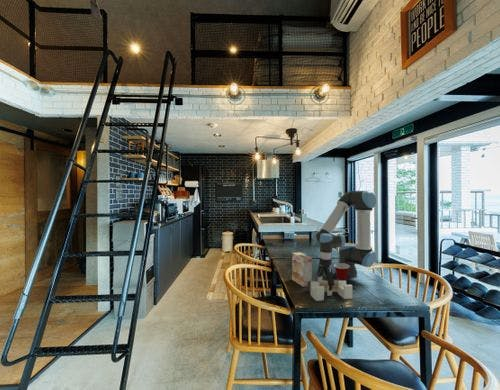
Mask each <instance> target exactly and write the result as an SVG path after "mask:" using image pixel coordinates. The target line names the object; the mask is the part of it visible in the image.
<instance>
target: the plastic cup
mask: <svg viewBox="0 0 500 390" xmlns="http://www.w3.org/2000/svg"><path fill="white" fill-rule="evenodd" d="M333 267H334V269H335V273H336V274H335V275H336V280H340V281H347V280H348V277H347V276H348V271H349V267H350V265H348V264H344V263H339V262H338V263H335V264H333Z"/></svg>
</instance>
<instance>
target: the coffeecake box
mask: <svg viewBox="0 0 500 390" xmlns="http://www.w3.org/2000/svg"><path fill="white" fill-rule="evenodd" d="M291 254H292V257H291V259H292V261H291V262H292V265H291V280H292V281H293V282H295V283H297V284H298V285H300V286H301V287H302V288H306V287H307V281H313V279H312V278H313V257H312V256H310V255H308V254H305V253H303V252H301V251H299V252H298V251H297V252H292V253H291Z"/></svg>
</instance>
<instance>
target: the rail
mask: <svg viewBox="0 0 500 390" xmlns="http://www.w3.org/2000/svg"><path fill="white" fill-rule="evenodd" d="M338 281H340V280H337V279H334V285H333V286H332V293H338ZM311 282H319V286H324V293H327V288H328V281H327V280H322V281H318V280H312V281H307V288H306V289H307V292H308V293H309V294H311Z"/></svg>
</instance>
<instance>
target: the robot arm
mask: <svg viewBox="0 0 500 390" xmlns="http://www.w3.org/2000/svg"><path fill="white" fill-rule="evenodd" d="M376 205H377V197H376V195H375V194H374V192H372V191H370V190H368V191H367V190H350V191H348V192H346V193H344V194H343V195H341V197H340V198H339V199H338V200H337V202H336V205H335V207H334V209H333V210H332V212H331V213H330V215H329V216H328V218H327V219H326V221H325V222H324V224H323V225H322V227H321V228H320V230H319V231H315V232H314V233H313V234H312V240H313V241H314V242H315V243H317V244H319V254H318V255H319V260H318V262H319V263H318V266H317V267H318V268H317V270H316V275H317V281H323V275H325V277H326V281H328V288H327V292H326V293H327V294H326V295H327V296H328V297H329V296H333V292H332V286H333V285H334V280H335V279H334V275H333V269H332V268H330V266H331V265H332V263H333V262H332V258H333V256H332V255H333V249H334V248H336V249H337V248H339V249H338V263H344V264H348V265H350V267H349V271H348V276H347V278H356V277H358V272H357V271H358V270H357V268H356V267H357V266H356V265H359V266H361V267H365V268H371V267H372V266H373V265H374V264H375V262H376V259H377V254H376V252H375V251H373V247H372V246H371V212H372V211H373V208H375V207H376ZM352 207H354V211H356V244H353V243H346V238H345V237H344V236H343V235H339V234H337V235H335V234H332V233H333V231H334V230H335V229H336V226H337V225H338V224H339V222H340V221H341V219H342V218H343V216H344V214H345V213H346V212H347V211H349V210H350V208H352Z"/></svg>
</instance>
